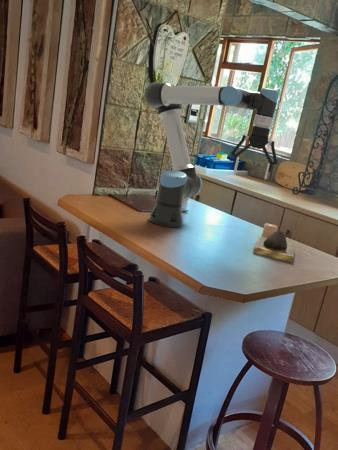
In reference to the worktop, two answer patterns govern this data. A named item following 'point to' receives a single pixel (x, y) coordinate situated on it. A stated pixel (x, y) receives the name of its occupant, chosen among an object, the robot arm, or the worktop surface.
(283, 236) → the stone
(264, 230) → the peach rounded capsule
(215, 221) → the worktop surface
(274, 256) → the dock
